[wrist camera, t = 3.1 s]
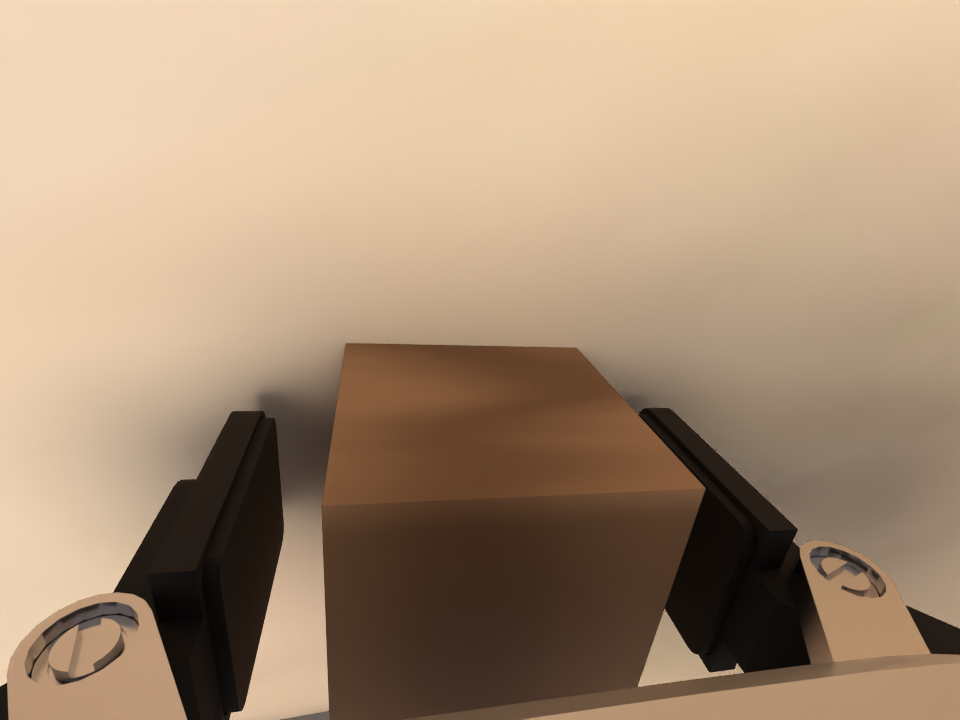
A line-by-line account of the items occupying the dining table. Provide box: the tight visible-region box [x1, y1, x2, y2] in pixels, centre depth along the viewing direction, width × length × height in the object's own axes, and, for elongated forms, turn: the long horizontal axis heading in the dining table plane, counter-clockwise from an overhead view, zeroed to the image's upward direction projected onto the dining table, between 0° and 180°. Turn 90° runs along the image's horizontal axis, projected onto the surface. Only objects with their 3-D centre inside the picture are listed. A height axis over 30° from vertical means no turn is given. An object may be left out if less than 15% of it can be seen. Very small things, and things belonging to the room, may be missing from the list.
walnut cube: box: [322, 343, 706, 720], centre depth 9 cm, size 5×5×5 cm
